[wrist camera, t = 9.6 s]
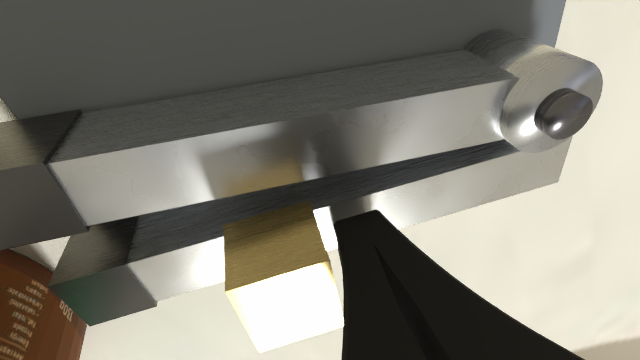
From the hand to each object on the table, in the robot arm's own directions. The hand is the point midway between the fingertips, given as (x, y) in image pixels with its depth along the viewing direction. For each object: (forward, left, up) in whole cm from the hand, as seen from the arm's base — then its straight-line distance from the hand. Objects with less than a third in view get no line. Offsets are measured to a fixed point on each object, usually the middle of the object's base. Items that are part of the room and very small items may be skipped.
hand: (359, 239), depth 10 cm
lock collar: (+2, 0, -1) cm, 2 cm away
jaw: (+1, -3, -3) cm, 4 cm away
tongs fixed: (+1, 0, -3) cm, 3 cm away
